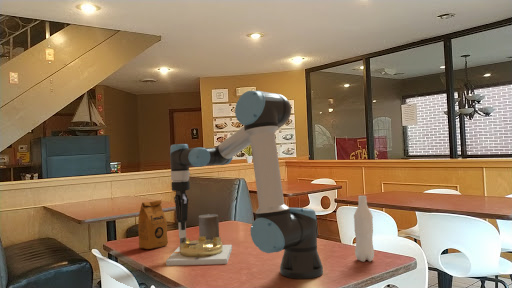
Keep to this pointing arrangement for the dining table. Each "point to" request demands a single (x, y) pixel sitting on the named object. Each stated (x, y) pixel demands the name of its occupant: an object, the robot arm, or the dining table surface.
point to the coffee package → (152, 226)
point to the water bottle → (363, 231)
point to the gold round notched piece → (200, 247)
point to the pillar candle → (209, 226)
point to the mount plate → (200, 258)
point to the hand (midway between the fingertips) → (182, 237)
